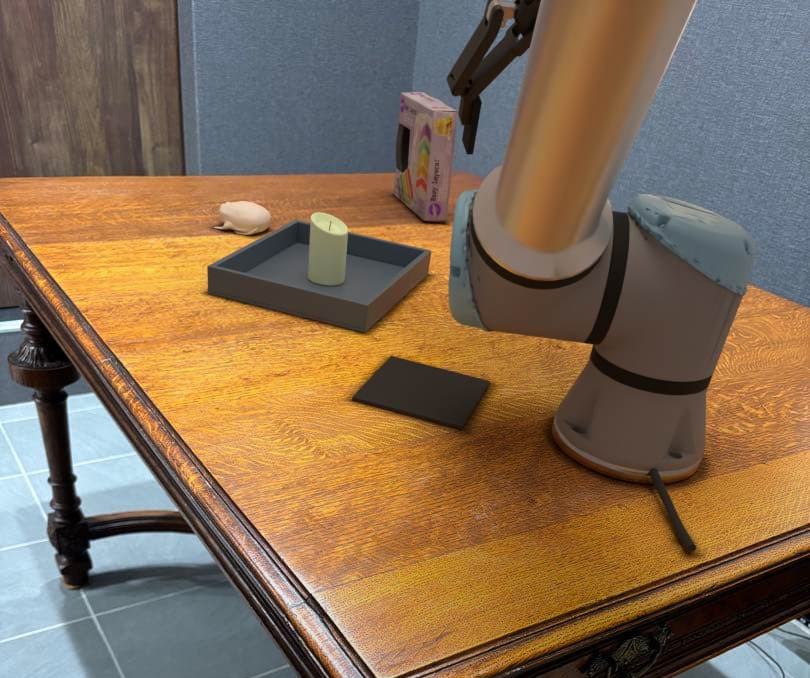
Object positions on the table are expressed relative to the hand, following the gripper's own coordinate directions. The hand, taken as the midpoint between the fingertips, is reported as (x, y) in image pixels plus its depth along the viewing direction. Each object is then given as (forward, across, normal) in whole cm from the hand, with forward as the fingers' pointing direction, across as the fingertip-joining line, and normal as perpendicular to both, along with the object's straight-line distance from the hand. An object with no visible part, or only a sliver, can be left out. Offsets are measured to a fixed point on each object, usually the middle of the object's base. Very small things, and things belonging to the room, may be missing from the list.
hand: (521, 144), depth 98 cm
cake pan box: (+38, +2, -35) cm, 52 cm away
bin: (+19, +24, +1) cm, 31 cm away
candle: (+19, +24, 0) cm, 31 cm away
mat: (+7, +18, +30) cm, 36 cm away
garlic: (+27, +34, -20) cm, 48 cm away
